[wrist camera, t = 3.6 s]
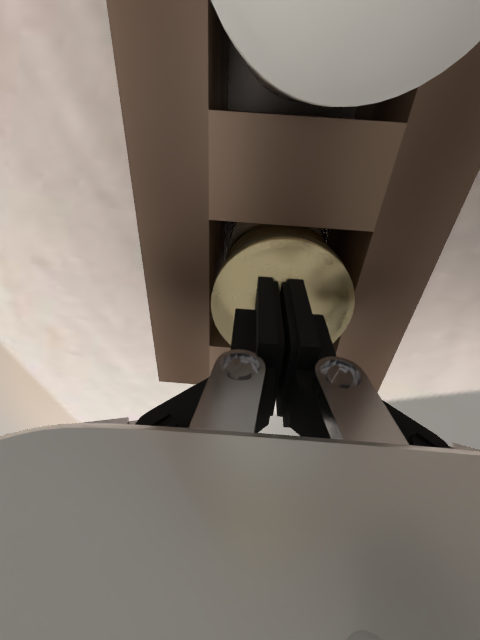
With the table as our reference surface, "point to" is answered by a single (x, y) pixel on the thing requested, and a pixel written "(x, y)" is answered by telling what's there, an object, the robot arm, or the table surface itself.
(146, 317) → the table surface
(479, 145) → the wooden spice rack
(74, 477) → the robot arm
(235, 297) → the knob
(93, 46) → the table surface
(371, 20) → the knob mid
